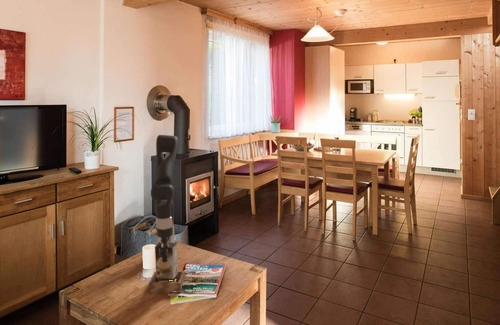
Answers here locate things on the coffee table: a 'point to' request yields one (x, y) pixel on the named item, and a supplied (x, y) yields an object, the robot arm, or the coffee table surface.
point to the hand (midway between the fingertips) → (166, 258)
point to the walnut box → (166, 283)
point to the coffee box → (169, 267)
